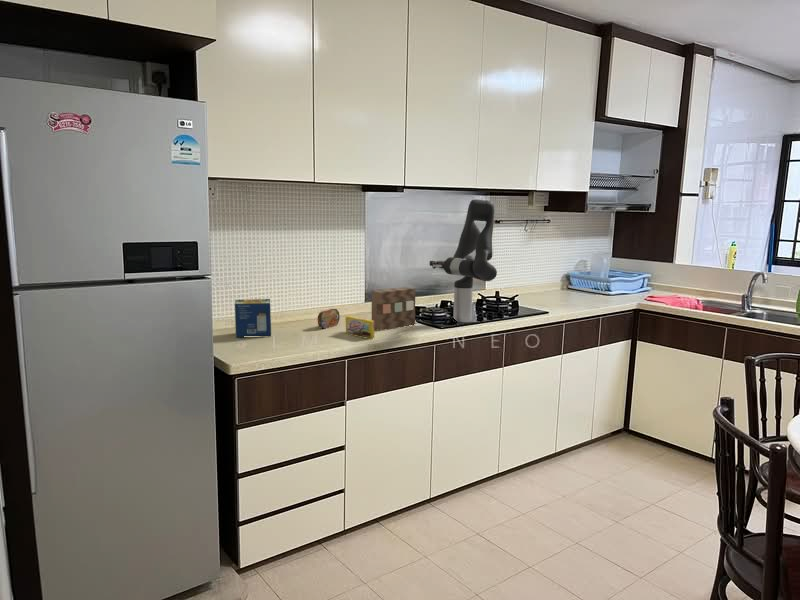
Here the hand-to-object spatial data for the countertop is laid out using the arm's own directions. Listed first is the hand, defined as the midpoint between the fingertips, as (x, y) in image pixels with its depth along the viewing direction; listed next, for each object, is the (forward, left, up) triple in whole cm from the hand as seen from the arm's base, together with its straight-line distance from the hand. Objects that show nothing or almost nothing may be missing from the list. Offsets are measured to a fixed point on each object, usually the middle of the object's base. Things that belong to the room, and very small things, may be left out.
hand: (430, 263), depth 268 cm
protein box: (+68, -42, -32) cm, 86 cm away
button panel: (+6, -19, -32) cm, 38 cm away
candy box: (+31, -12, -32) cm, 46 cm away
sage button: (+6, -17, -24) cm, 30 cm away
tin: (+32, -37, -32) cm, 59 cm away
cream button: (0, -17, -24) cm, 29 cm away
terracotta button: (+13, -17, -24) cm, 32 cm away
